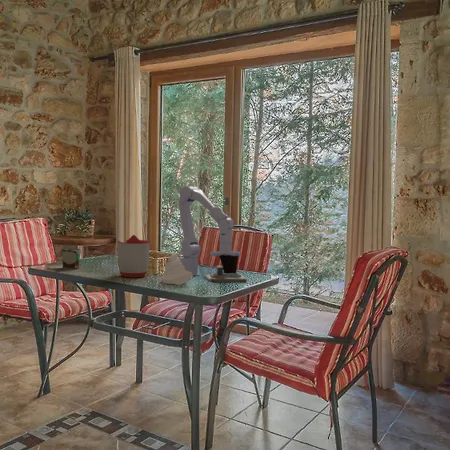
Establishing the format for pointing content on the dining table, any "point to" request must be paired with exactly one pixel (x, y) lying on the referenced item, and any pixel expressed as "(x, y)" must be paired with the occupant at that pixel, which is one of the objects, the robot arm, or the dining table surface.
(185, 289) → the dining table surface
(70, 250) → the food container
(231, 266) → the coffee mug
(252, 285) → the dining table surface
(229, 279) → the grey square tray
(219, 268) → the breaker lever
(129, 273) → the citrus juicer
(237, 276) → the grey flat slab
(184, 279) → the beige faceted rock
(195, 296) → the dining table surface
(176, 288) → the dining table surface
